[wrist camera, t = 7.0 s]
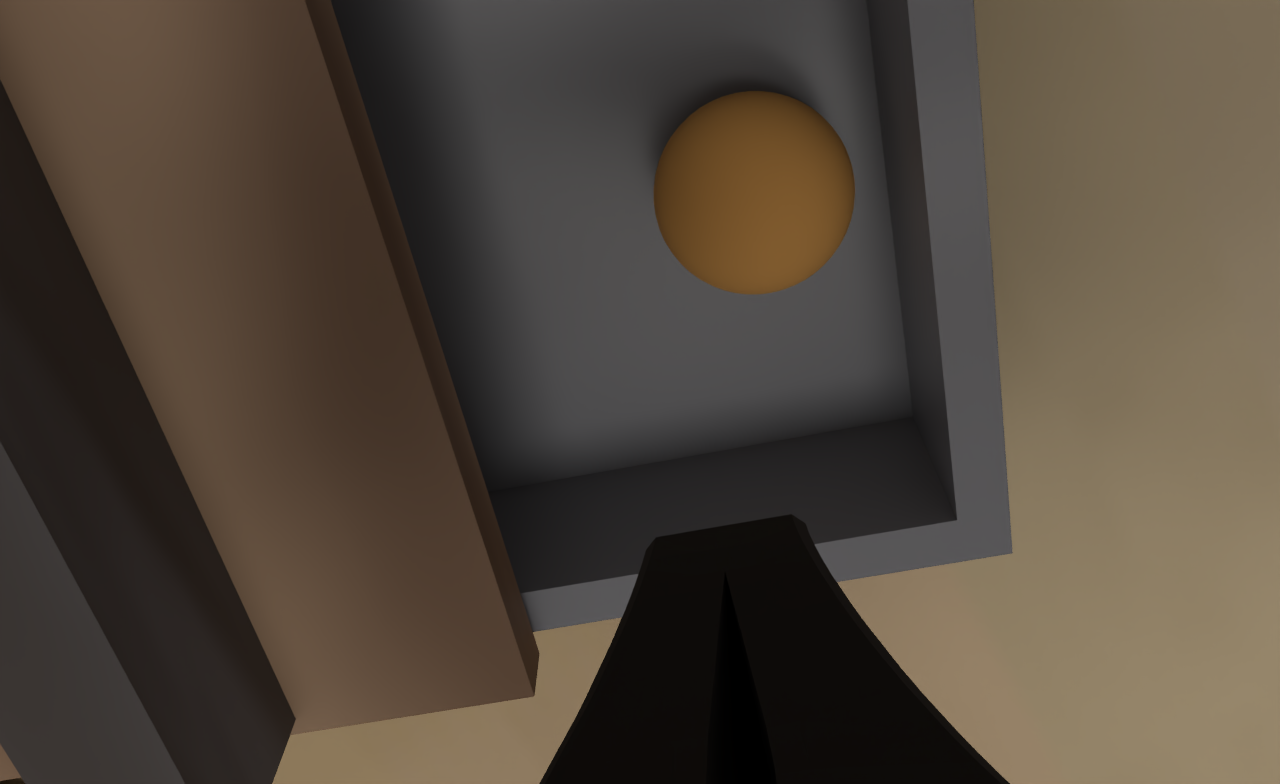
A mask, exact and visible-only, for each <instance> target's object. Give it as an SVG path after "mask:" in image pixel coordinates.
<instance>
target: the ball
mask: <svg viewBox="0 0 1280 784" xmlns="http://www.w3.org/2000/svg"><path fill="white" fill-rule="evenodd" d="M854 200H855V179H854V173H853V168H852V164H851V161H850V158H849V155H848V153H847V150H846V148H845V146H844V144H843V142H842V140H841V138H840V137H839V135H838V134H837V133H836V131H835V130H834V128H833V127H832V126H831V125H830V124H829V123H828V122H827V121H826V120H825V119H824V118H823V117H822V116H821V115H820V114H819V113H818V112H816V111H815V110H814V109H813V108H811V107H809V106H808V105H806V104H804V103H803V102H801V101H799V100H796V99H794V98H791V97H789V96H785V95H782V94H778V93H774V92H766V91H745V92H738V93H733V94H729V95H726V96H722V97H720V98H718V99H715V100H713V101H711V102H709V103H707V104H705V105H704V106H702V107H700V108H699V109H698V110H696V111H695V112H694V113H692V114H691V115H690V116H689V117H688V118H687V119H686V120H685V121H684V122H683V123H682V124H681V125H680V126H679V127H678V128H677V129H676V131H675V132H674V133H673V135H672V136H671V137H670V139H669V141H668V142H667V144H666V146H665V148H664V150H663V152H662V155H661V157H660V159H659V163H658V166H657V170H656V174H655V181H654V208H655V215H656V219H657V222H658V226H659V229H660V232H661V234H662V236H663V239H664V241H665V242H666V244H667V246H668V247H669V249H670V251H671V252H672V253H673V255H674V256H675V257H676V258H677V260H678V261H679V262H680V263H681V264H682V265H683V266H684V267H685V268H686V269H687V270H688V271H689V272H690V273H692V274H693V275H694V276H696V277H697V278H699V279H700V280H702V281H704V282H706V283H708V284H710V285H712V286H714V287H716V288H719V289H722V290H725V291H729V292H733V293H739V294H766V293H773V292H777V291H781V290H784V289H787V288H789V287H792V286H794V285H796V284H798V283H800V282H802V281H804V280H806V279H807V278H809V277H810V276H811V275H813V274H814V273H816V272H817V271H818V270H819V269H820V268H821V267H822V266H824V265H825V264H826V262H827V261H828V260H829V259H830V258H831V257H832V256H833V254H834V253H835V251H836V250H837V248H838V247H839V245H840V244H841V242H842V240H843V238H844V236H845V234H846V232H847V230H848V227H849V224H850V222H851V218H852V213H853V209H854Z"/></svg>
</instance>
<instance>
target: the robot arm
mask: <svg viewBox="0 0 1280 784" xmlns="http://www.w3.org/2000/svg"><path fill="white" fill-rule="evenodd" d="M540 784H1010V783H1009V782H1008V781H1006V780H1005V779H1004V778H1003V777H1002V776H1001V775H1000V774H999V773H998V772H997V771H996V770H995V769H994V768H993V767H992V766H991V765H990V764H989V763H988V762H987V761H986V760H985V759H984V758H983V757H982V756H981V755H980V754H979V753H978V752H977V751H976V750H975V749H974V748H973V747H972V746H971V745H970V744H969V743H968V742H967V741H966V740H965V739H964V738H963V737H962V736H961V735H960V734H959V733H958V732H957V730H956V729H955V728H954V727H953V726H952V725H951V724H950V723H949V722H948V721H947V720H946V718H945V717H944V716H943V715H942V714H941V713H940V712H939V711H938V710H937V709H936V708H935V706H934V705H933V704H932V703H931V702H930V701H929V700H928V699H927V698H926V697H925V696H924V694H923V693H922V692H921V691H920V690H919V689H918V687H917V686H916V685H915V684H914V683H913V682H912V680H911V679H910V678H909V677H908V676H907V675H906V673H905V672H904V671H903V670H902V669H901V668H900V666H899V665H898V664H897V663H896V661H895V660H894V659H893V658H892V656H891V655H890V654H889V652H888V651H887V650H886V649H885V647H884V646H883V645H882V644H881V642H880V641H879V640H878V639H877V637H876V636H875V635H874V633H873V632H872V631H871V630H870V628H869V627H868V626H867V625H866V623H865V622H864V621H863V619H862V618H861V617H860V615H859V614H858V612H857V611H856V610H855V608H854V607H853V606H852V604H851V603H850V601H849V600H848V598H847V597H846V595H845V594H844V592H843V591H842V589H841V588H840V586H839V585H838V583H837V582H836V580H835V579H834V577H833V576H832V574H831V573H830V571H829V569H828V568H827V566H826V564H825V563H824V561H823V559H822V558H821V556H820V554H819V552H818V550H817V548H816V546H815V544H814V542H813V540H812V538H811V536H810V534H809V532H808V529H807V526H806V523H804V522H803V521H801V520H800V519H798V518H797V517H795V516H794V515H792V514H789V515H783V516H777V517H771V518H766V519H760V520H754V521H748V522H742V523H736V524H730V525H724V526H719V527H713V528H707V529H701V530H695V531H689V532H683V533H677V534H672V535H666V536H660V537H656V538H655V539H654V540H653V542H652V543H651V544H650V545H649V547H648V548H647V549H646V552H645V555H644V558H643V562H642V565H641V568H640V571H639V574H638V577H637V580H636V583H635V585H634V588H633V591H632V594H631V596H630V599H629V601H628V604H627V607H626V609H625V612H624V614H623V616H622V619H621V621H620V624H619V626H618V628H617V631H616V633H615V636H614V638H613V640H612V643H611V645H610V647H609V649H608V651H607V653H606V656H605V658H604V660H603V662H602V664H601V666H600V668H599V671H598V673H597V675H596V677H595V679H594V681H593V683H592V685H591V688H590V690H589V692H588V694H587V696H586V698H585V700H584V702H583V704H582V706H581V708H580V710H579V712H578V714H577V716H576V718H575V720H574V722H573V724H572V725H571V727H570V729H569V731H568V733H567V734H566V736H565V738H564V740H563V742H562V744H561V745H560V747H559V749H558V751H557V753H556V754H555V756H554V758H553V760H552V762H551V764H550V765H549V767H548V769H547V771H546V773H545V774H544V776H543V778H542V780H541V782H540Z"/></svg>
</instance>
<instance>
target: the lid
mask: <svg viewBox="0 0 1280 784" xmlns="http://www.w3.org/2000/svg"><path fill="white" fill-rule="evenodd" d="M538 661H539V651H538V648H537V644H536V641H535V638H534V635H533V632H532V629H531V626H530V623H529V619H528V616H527V613H526V610H525V607H524V604H523V601H522V598H521V594H520V591H519V588H518V585H517V582H516V579H515V576H514V573H513V569H512V566H511V563H510V560H509V557H508V554H507V551H506V548H505V544H504V541H503V538H502V535H501V532H500V529H499V526H498V522H497V519H496V516H495V513H494V510H493V507H492V504H491V501H490V497H489V494H488V491H487V488H486V485H485V482H484V479H483V476H482V472H481V469H480V466H479V463H478V460H477V457H476V454H475V451H474V447H473V444H472V441H471V438H470V435H469V432H468V429H467V426H466V422H465V419H464V416H463V413H462V410H461V407H460V404H459V401H458V397H457V394H456V391H455V388H454V385H453V382H452V379H451V376H450V372H449V369H448V366H447V363H446V360H445V357H444V354H443V351H442V347H441V344H440V341H439V338H438V335H437V332H436V329H435V325H434V322H433V319H432V316H431V313H430V310H429V307H428V304H427V300H426V297H425V294H424V291H423V288H422V285H421V282H420V279H419V275H418V272H417V269H416V266H415V263H414V260H413V257H412V254H411V250H410V247H409V244H408V241H407V238H406V235H405V232H404V229H403V225H402V222H401V219H400V216H399V213H398V210H397V207H396V204H395V200H394V197H393V194H392V191H391V188H390V185H389V182H388V179H387V175H386V172H385V169H384V166H383V163H382V160H381V157H380V154H379V150H378V147H377V144H376V141H375V138H374V135H373V132H372V128H371V125H370V122H369V119H368V116H367V113H366V110H365V107H364V103H363V100H362V97H361V94H360V91H359V88H358V85H357V82H356V78H355V75H354V72H353V69H352V66H351V63H350V60H349V57H348V53H347V50H346V47H345V44H344V41H343V38H342V35H341V32H340V28H339V25H338V22H337V19H336V16H335V13H334V10H333V7H332V3H331V0H0V781H3V780H9V779H16V778H22V779H23V781H24V782H25V784H272V782H273V780H274V777H275V774H276V772H277V769H278V766H279V763H280V761H281V758H282V755H283V753H284V750H285V747H286V745H287V742H288V739H289V737H290V735H293V734H300V733H306V732H312V731H319V730H325V729H331V728H338V727H344V726H350V725H357V724H363V723H369V722H375V721H382V720H388V719H394V718H401V717H407V716H413V715H420V714H426V713H432V712H439V711H445V710H451V709H457V708H464V707H470V706H476V705H483V704H489V703H495V702H502V701H508V700H514V699H521V698H527V697H533V696H534V695H535V686H536V678H537V669H538Z"/></svg>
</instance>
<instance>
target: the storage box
mask: <svg viewBox="0 0 1280 784" xmlns="http://www.w3.org/2000/svg"><path fill="white" fill-rule="evenodd" d="M331 3H332V7H333V10H334V13H335V16H336V19H337V22H338V25H339V28H340V32H341V35H342V38H343V41H344V44H345V47H346V50H347V53H348V57H349V60H350V63H351V66H352V69H353V72H354V75H355V78H356V82H357V85H358V88H359V91H360V94H361V97H362V100H363V103H364V107H365V110H366V113H367V116H368V119H369V122H370V125H371V128H372V132H373V135H374V138H375V141H376V144H377V147H378V150H379V154H380V157H381V160H382V163H383V166H384V169H385V172H386V175H387V179H388V182H389V185H390V188H391V191H392V194H393V197H394V200H395V204H396V207H397V210H398V213H399V216H400V219H401V222H402V225H403V229H404V232H405V235H406V238H407V241H408V244H409V247H410V250H411V254H412V257H413V260H414V263H415V266H416V269H417V272H418V275H419V279H420V282H421V285H422V288H423V291H424V294H425V297H426V300H427V304H428V307H429V310H430V313H431V316H432V319H433V322H434V325H435V329H436V332H437V335H438V338H439V341H440V344H441V347H442V351H443V354H444V357H445V360H446V363H447V366H448V369H449V372H450V376H451V379H452V382H453V385H454V388H455V391H456V394H457V397H458V401H459V404H460V407H461V410H462V413H463V416H464V419H465V422H466V426H467V429H468V432H469V435H470V438H471V441H472V444H473V447H474V451H475V454H476V457H477V460H478V463H479V466H480V469H481V472H482V476H483V479H484V482H485V485H486V488H487V491H488V494H489V497H490V501H491V504H492V507H493V510H494V513H495V516H496V519H497V522H498V526H499V529H500V532H501V535H502V538H503V541H504V544H505V548H506V551H507V554H508V557H509V560H510V563H511V566H512V569H513V573H514V576H515V579H516V582H517V585H518V588H519V591H520V594H521V598H522V601H523V604H524V607H525V610H526V613H527V616H528V619H529V623H530V626H531V629H532V632H535V631H541V630H547V629H553V628H559V627H566V626H572V625H578V624H584V623H590V622H596V621H602V620H608V619H614V618H620V617H622V616H623V614H624V612H625V609H626V607H627V604H628V601H629V599H630V596H631V594H632V591H633V588H634V585H635V583H636V580H637V577H638V574H639V571H640V568H641V565H642V562H643V558H644V555H645V552H646V549H647V548H648V547H649V545H650V544H651V543H652V542H653V540H654V539H655V538H656V537H660V536H666V535H672V534H677V533H683V532H689V531H695V530H701V529H707V528H713V527H719V526H724V525H730V524H736V523H742V522H748V521H754V520H760V519H766V518H771V517H777V516H783V515H789V514H792V515H794V516H795V517H797V518H798V519H800V520H801V521H803V522H804V523H806V526H807V529H808V532H809V534H810V536H811V538H812V540H813V542H814V544H815V546H816V548H817V550H818V552H819V554H820V556H821V558H822V559H823V561H824V563H825V564H826V566H827V568H828V569H829V571H830V573H831V574H832V576H833V577H834V579H835V580H836V582H840V581H846V580H852V579H858V578H864V577H870V576H876V575H882V574H888V573H895V572H901V571H907V570H913V569H919V568H925V567H931V566H937V565H943V564H949V563H956V562H962V561H968V560H974V559H980V558H986V557H992V556H998V555H1004V554H1010V553H1012V540H1011V526H1010V512H1009V497H1008V483H1007V469H1006V455H1005V441H1004V426H1003V412H1002V398H1001V384H1000V370H999V356H998V341H997V327H996V313H995V299H994V285H993V270H992V256H991V242H990V228H989V214H988V199H987V185H986V171H985V157H984V143H983V128H982V114H981V100H980V86H979V72H978V58H977V43H976V29H975V15H974V1H973V0H331ZM745 91H766V92H774V93H778V94H782V95H785V96H789V97H791V98H794V99H796V100H799V101H801V102H803V103H804V104H806V105H808V106H809V107H811V108H813V109H814V110H815V111H816V112H818V113H819V114H820V115H821V116H822V117H823V118H824V119H825V120H826V121H827V122H828V123H829V124H830V125H831V126H832V127H833V128H834V130H835V131H836V133H837V134H838V135H839V137H840V138H841V140H842V142H843V144H844V146H845V148H846V150H847V153H848V155H849V158H850V161H851V164H852V168H853V173H854V179H855V200H854V209H853V213H852V218H851V222H850V224H849V227H848V230H847V232H846V234H845V236H844V238H843V240H842V242H841V244H840V245H839V247H838V248H837V250H836V251H835V253H834V254H833V256H832V257H831V258H830V259H829V260H828V261H827V262H826V264H825V265H824V266H822V267H821V268H820V269H819V270H818V271H817V272H816V273H814V274H813V275H811V276H810V277H809V278H807V279H806V280H804V281H802V282H800V283H798V284H796V285H794V286H792V287H789V288H787V289H784V290H781V291H777V292H773V293H766V294H739V293H733V292H729V291H725V290H722V289H719V288H716V287H714V286H712V285H710V284H708V283H706V282H704V281H702V280H700V279H699V278H697V277H696V276H694V275H693V274H692V273H690V272H689V271H688V270H687V269H686V268H685V267H684V266H683V265H682V264H681V263H680V262H679V261H678V260H677V258H676V257H675V256H674V255H673V253H672V252H671V251H670V249H669V247H668V246H667V244H666V242H665V241H664V239H663V236H662V234H661V232H660V229H659V226H658V222H657V219H656V215H655V208H654V181H655V174H656V170H657V166H658V163H659V159H660V157H661V155H662V152H663V150H664V148H665V146H666V144H667V142H668V141H669V139H670V137H671V136H672V135H673V133H674V132H675V131H676V129H677V128H678V127H679V126H680V125H681V124H682V123H683V122H684V121H685V120H686V119H687V118H688V117H689V116H690V115H691V114H692V113H694V112H695V111H696V110H698V109H699V108H700V107H702V106H704V105H705V104H707V103H709V102H711V101H713V100H715V99H718V98H720V97H722V96H726V95H729V94H733V93H738V92H745Z"/></svg>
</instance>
